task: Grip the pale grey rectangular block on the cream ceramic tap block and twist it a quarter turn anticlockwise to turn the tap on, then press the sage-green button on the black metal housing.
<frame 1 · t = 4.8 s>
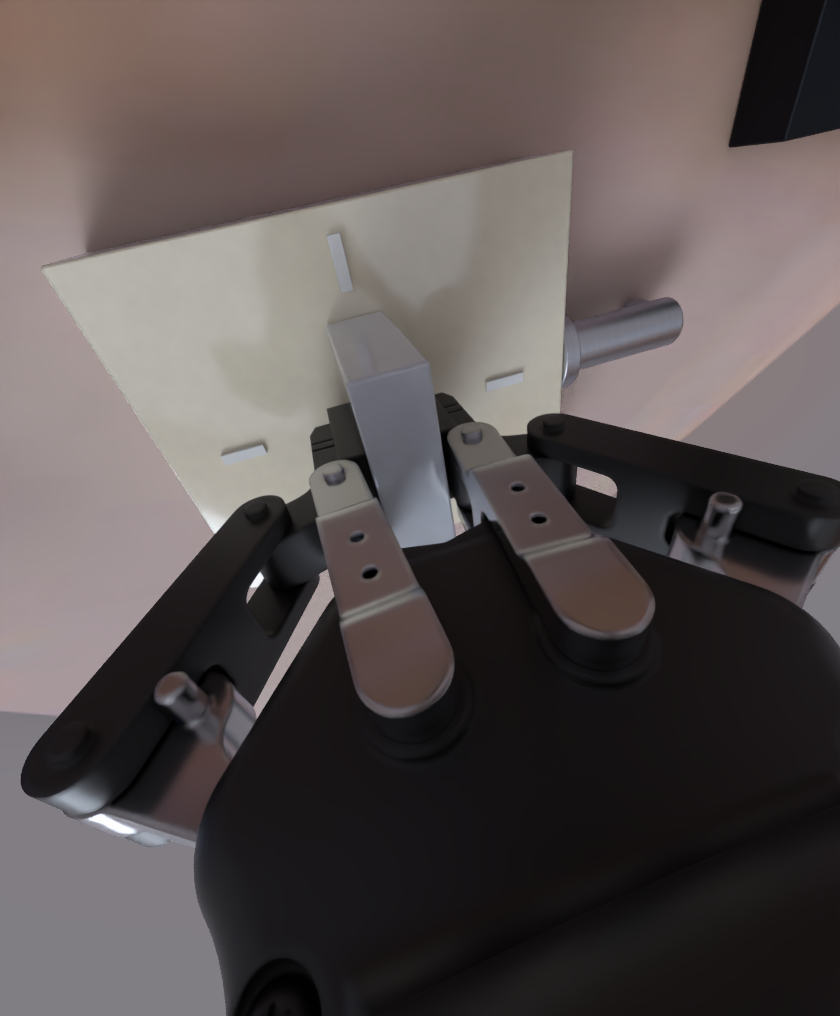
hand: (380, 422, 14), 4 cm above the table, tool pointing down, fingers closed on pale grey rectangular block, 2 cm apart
pale grey rectangular block: (395, 452, 12), point 6 cm above the table, hinge at 0.0°, touching gripper
tap block: (364, 385, 17), on the table
spout: (525, 341, 17), on the table
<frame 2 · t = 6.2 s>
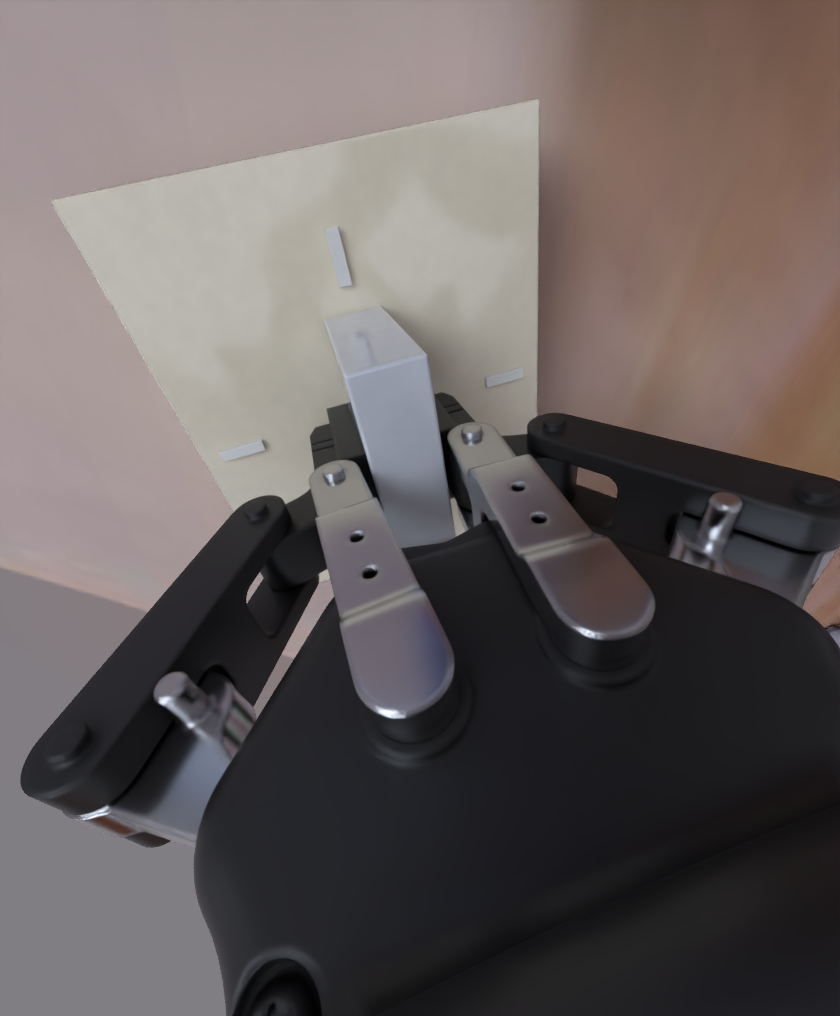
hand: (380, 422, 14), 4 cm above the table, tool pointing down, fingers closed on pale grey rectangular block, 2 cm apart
pale grey rectangular block: (394, 447, 12), point 6 cm above the table, hinge at 89.8°, touching gripper
tap block: (363, 382, 17), on the table
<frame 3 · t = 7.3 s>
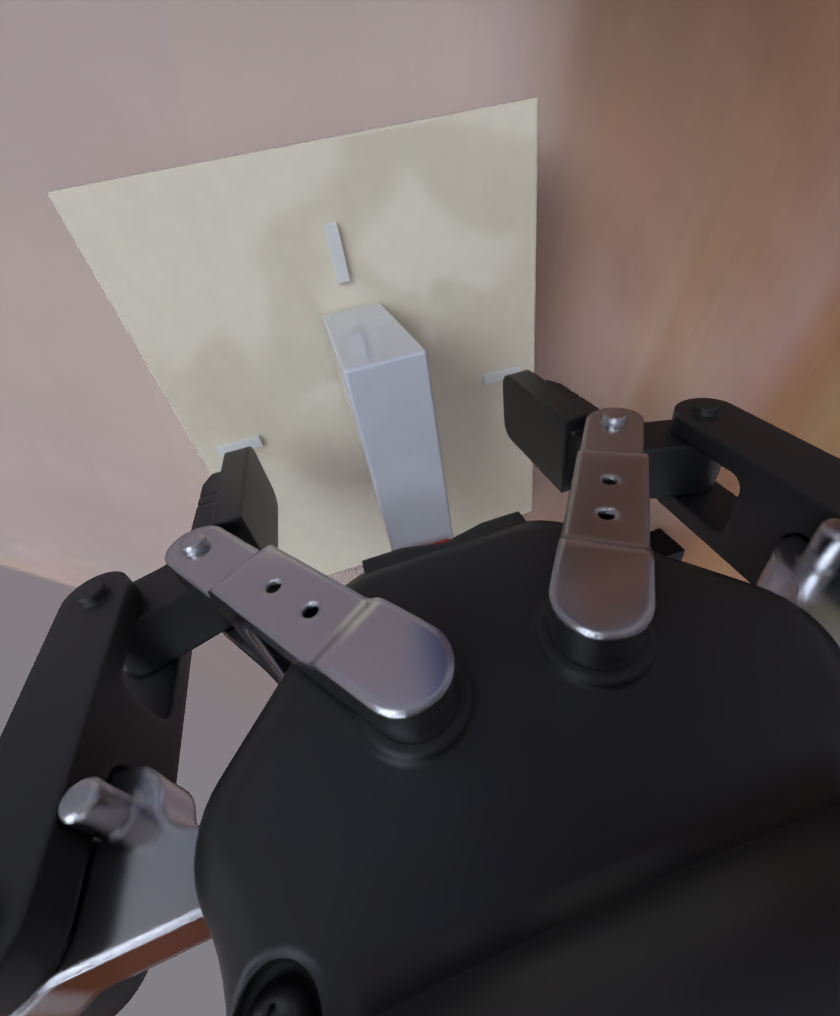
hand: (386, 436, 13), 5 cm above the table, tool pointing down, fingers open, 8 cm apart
pale grey rectangular block: (391, 444, 12), point 6 cm above the table, hinge at 89.7°
button housing: (574, 602, 30), on the table
tap block: (361, 378, 17), on the table
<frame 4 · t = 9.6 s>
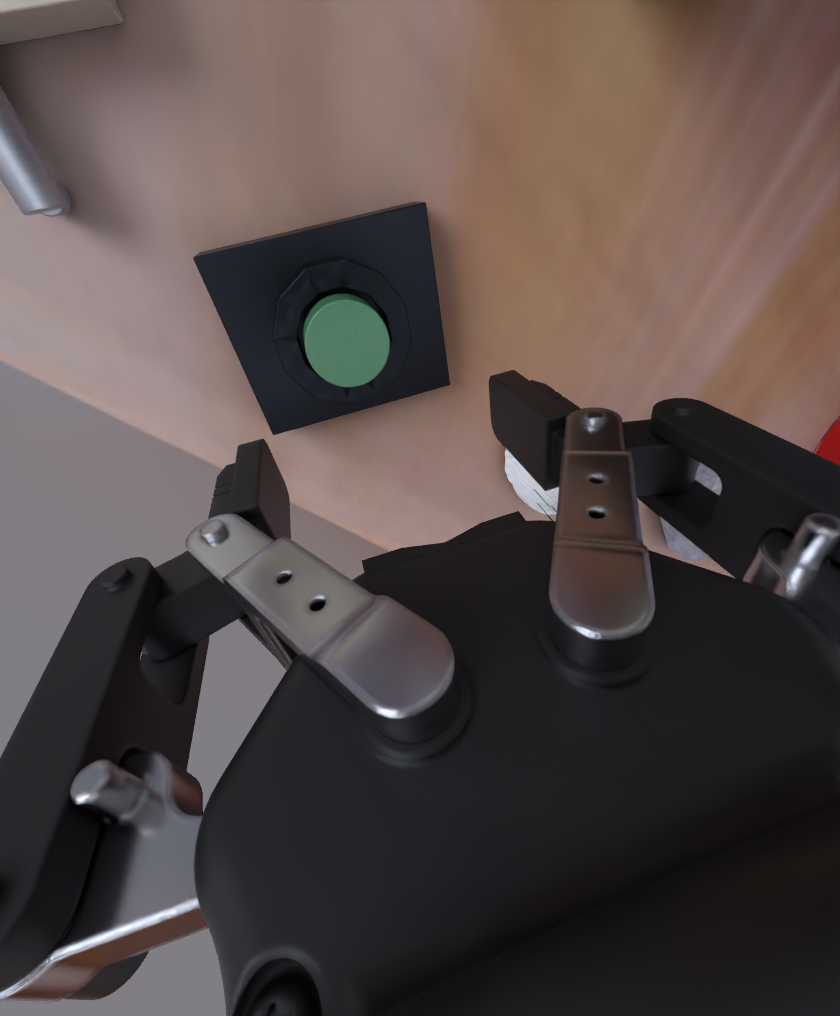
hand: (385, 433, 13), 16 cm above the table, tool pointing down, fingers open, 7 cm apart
pincushion: (540, 467, 37), on the table
stone block: (689, 502, 46), on the table
button housing: (337, 322, 26), on the table
push button: (346, 341, 22), point 4 cm above the table, slide at 0.1 cm
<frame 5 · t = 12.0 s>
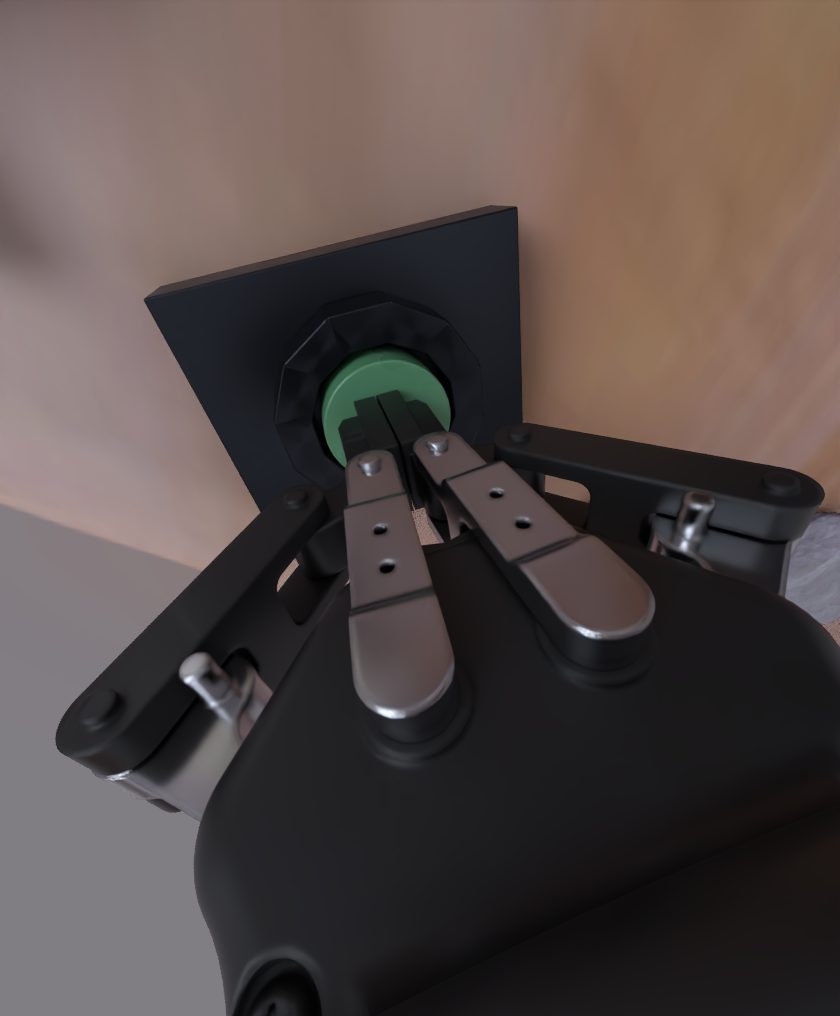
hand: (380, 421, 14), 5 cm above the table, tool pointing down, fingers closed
stone block: (781, 567, 38), on the table
button housing: (368, 380, 18), on the table
push button: (384, 415, 15), point 4 cm above the table, slide at -0.7 cm, touching gripper
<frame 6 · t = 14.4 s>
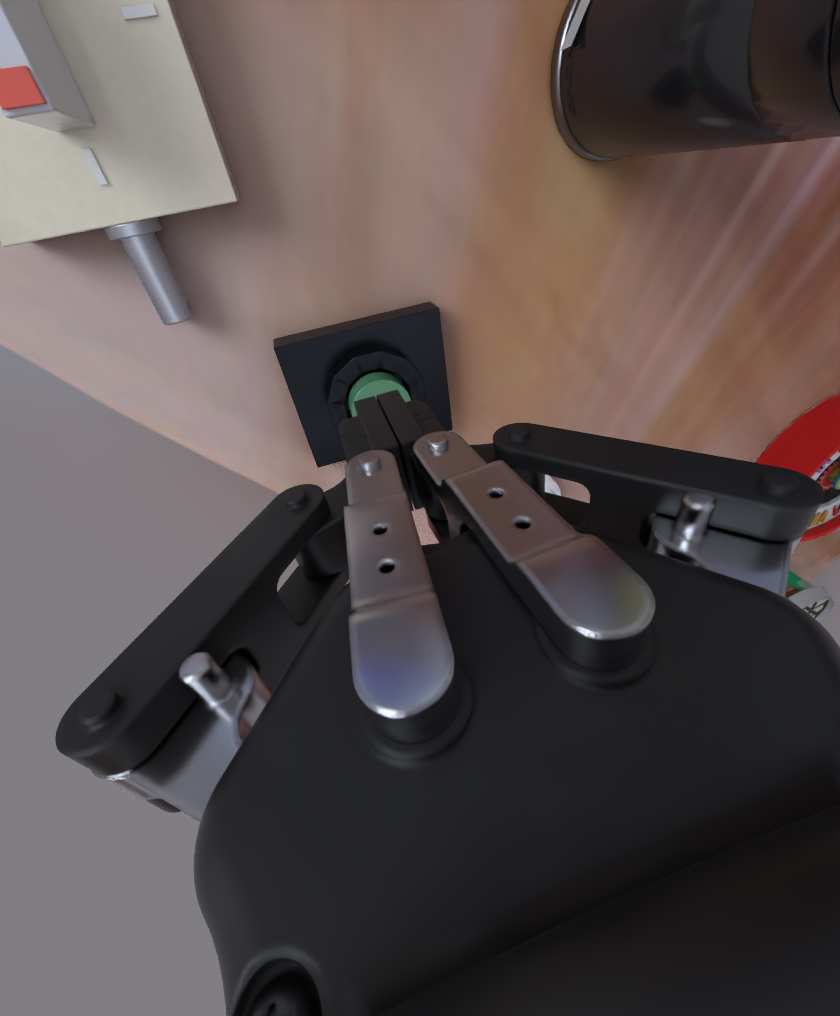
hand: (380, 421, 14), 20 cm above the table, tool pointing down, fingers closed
food container: (761, 567, 73), on the table
toy clock: (807, 458, 58), on the table
button housing: (368, 383, 34), on the table
tap block: (54, 46, 20), on the table
push button: (380, 405, 31), point 4 cm above the table, slide at 0.1 cm
spout: (138, 220, 24), on the table
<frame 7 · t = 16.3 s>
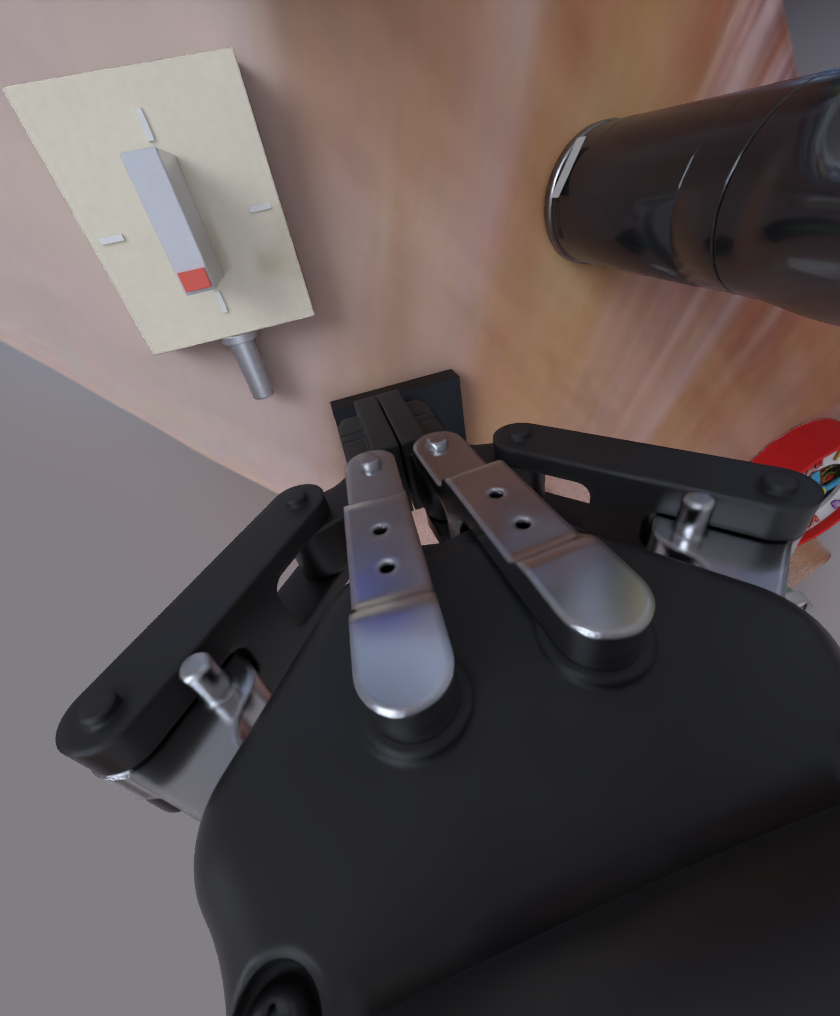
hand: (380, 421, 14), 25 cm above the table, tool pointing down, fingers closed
pale grey rectangular block: (179, 225, 24), point 6 cm above the table, hinge at 89.7°
food container: (747, 573, 80), on the table
toy clock: (781, 477, 65), on the table
button housing: (401, 431, 42), on the table
tap block: (194, 220, 29), on the table
spout: (238, 325, 33), on the table
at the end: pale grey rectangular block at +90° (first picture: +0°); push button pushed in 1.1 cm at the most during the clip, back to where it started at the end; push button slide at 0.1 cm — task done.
